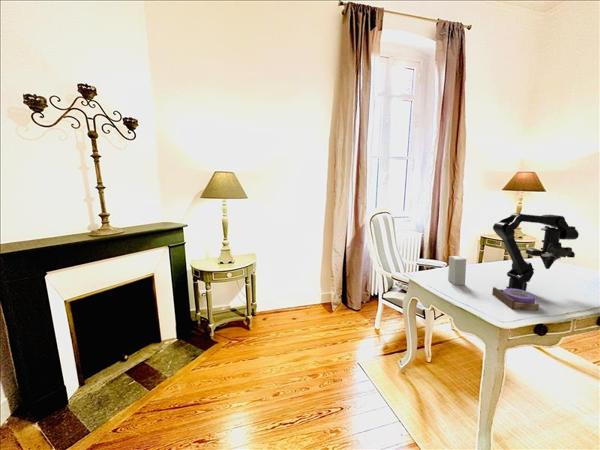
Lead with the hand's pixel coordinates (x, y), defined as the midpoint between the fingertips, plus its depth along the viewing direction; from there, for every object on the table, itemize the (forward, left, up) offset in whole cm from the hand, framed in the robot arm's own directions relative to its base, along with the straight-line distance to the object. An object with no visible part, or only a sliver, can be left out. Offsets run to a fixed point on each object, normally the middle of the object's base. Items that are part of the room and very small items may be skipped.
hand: (547, 268), depth 136 cm
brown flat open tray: (-24, -18, -12) cm, 32 cm away
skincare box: (-41, +5, -12) cm, 43 cm away
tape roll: (-23, -18, -12) cm, 32 cm away
